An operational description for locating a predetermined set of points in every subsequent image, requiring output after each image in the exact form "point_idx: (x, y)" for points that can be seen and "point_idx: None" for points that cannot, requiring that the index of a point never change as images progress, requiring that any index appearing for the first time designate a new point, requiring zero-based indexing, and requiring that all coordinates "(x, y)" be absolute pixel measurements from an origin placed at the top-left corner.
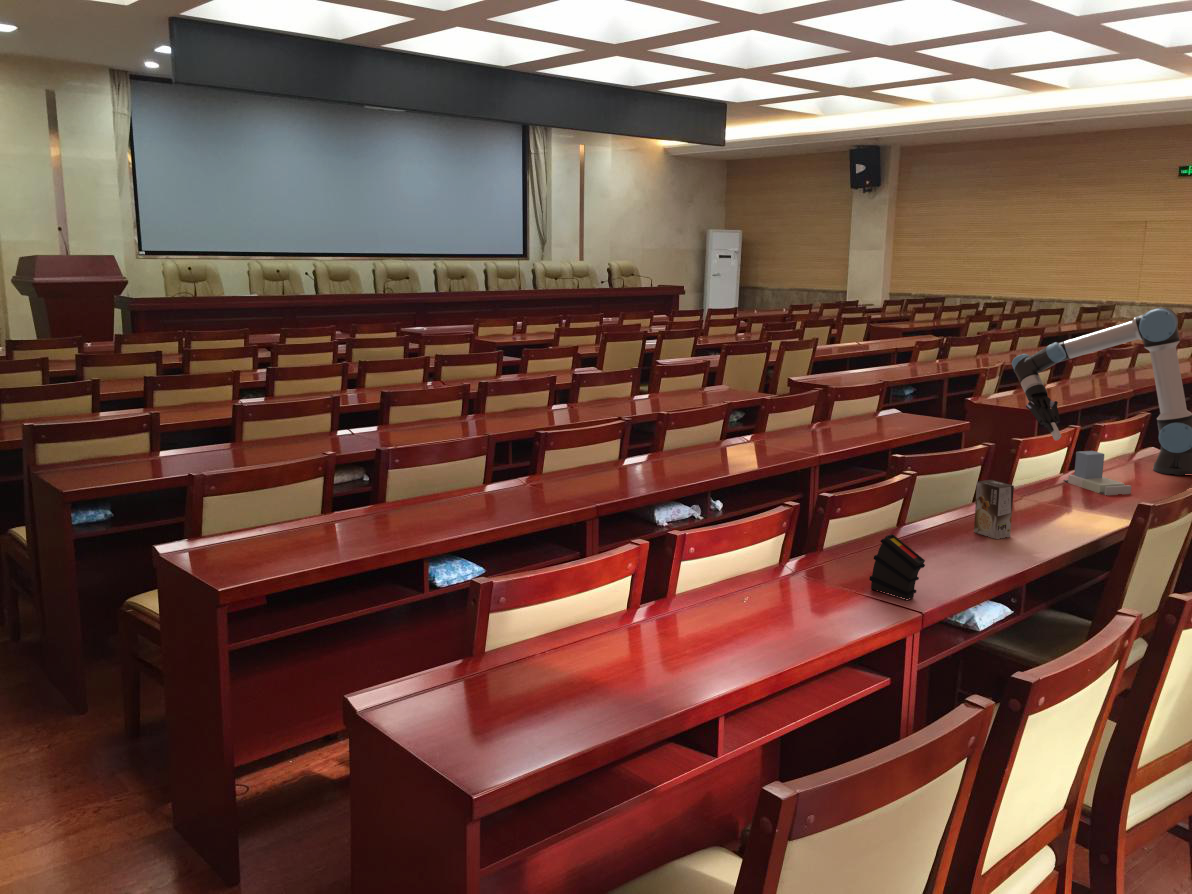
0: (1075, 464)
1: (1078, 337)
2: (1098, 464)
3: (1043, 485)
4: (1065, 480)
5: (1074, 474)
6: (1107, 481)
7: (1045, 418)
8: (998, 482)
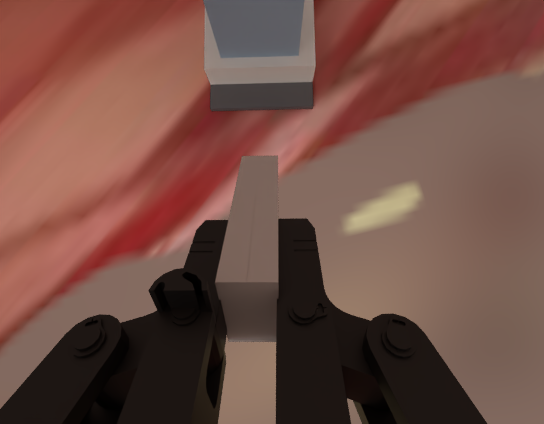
0: (302, 16)
1: None
2: None
3: (425, 68)
4: (311, 98)
5: (298, 51)
6: None
7: (343, 415)
8: None
